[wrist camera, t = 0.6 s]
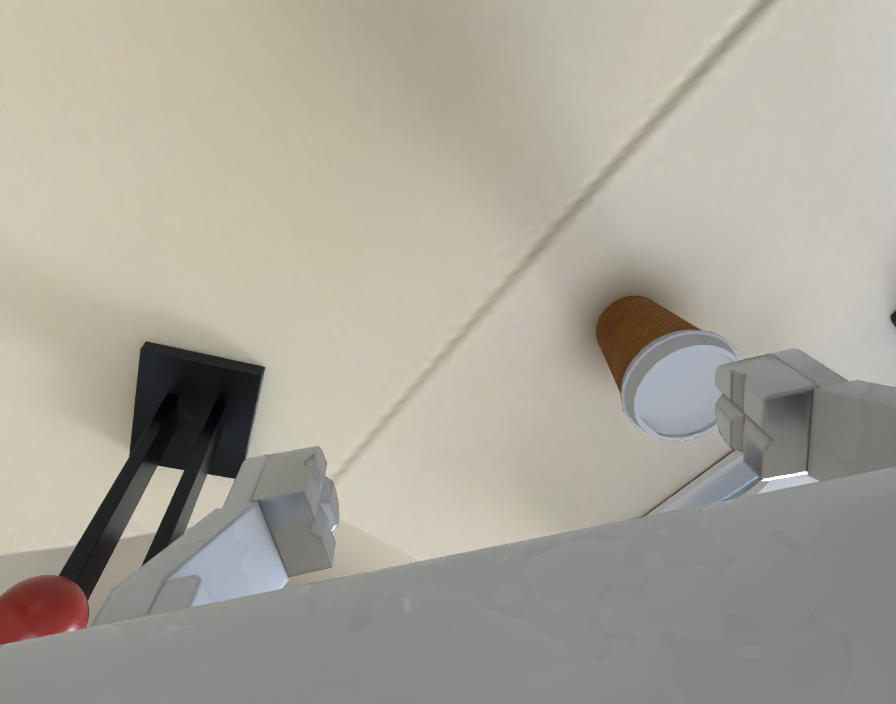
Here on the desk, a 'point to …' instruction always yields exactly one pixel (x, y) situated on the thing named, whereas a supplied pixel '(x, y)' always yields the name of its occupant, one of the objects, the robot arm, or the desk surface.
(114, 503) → the bracket
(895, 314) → the smart home device
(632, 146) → the desk surface
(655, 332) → the disposable coffee cup
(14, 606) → the lever
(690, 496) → the document scanner
